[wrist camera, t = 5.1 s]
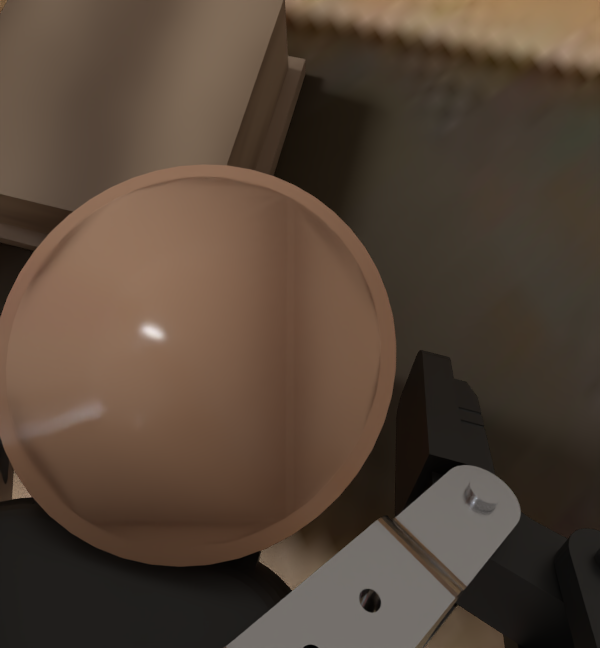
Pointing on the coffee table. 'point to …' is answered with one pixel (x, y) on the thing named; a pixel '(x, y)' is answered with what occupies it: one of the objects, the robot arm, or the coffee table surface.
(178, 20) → the base slab
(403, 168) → the coffee table surface
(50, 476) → the canister
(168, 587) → the robot arm
